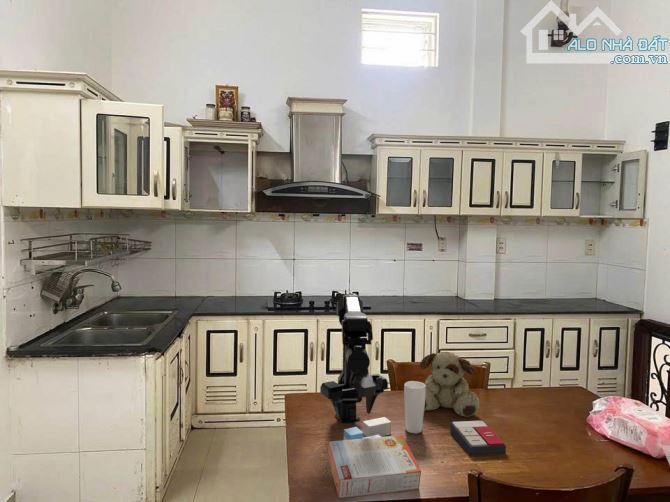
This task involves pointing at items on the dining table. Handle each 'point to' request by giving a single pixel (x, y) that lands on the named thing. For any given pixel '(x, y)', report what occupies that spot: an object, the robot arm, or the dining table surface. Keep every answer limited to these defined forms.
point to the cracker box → (373, 466)
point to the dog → (449, 384)
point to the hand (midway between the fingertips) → (354, 416)
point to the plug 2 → (377, 427)
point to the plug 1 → (353, 433)
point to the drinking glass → (414, 405)
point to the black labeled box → (477, 438)
